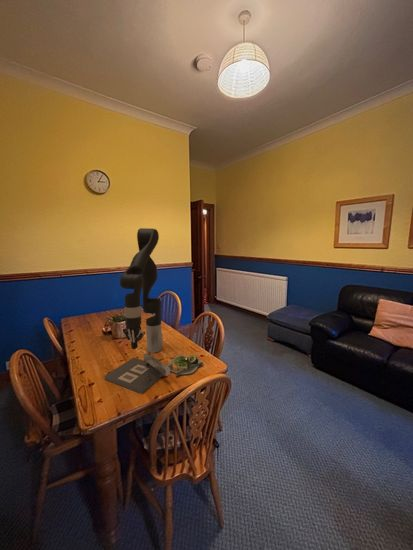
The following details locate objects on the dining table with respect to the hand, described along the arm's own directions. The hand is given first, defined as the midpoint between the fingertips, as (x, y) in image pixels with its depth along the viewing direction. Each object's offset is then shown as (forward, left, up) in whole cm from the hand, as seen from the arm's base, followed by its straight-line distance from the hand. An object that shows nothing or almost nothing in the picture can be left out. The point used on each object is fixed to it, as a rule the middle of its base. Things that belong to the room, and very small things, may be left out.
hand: (134, 348), depth 114 cm
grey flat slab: (-1, 0, -16) cm, 16 cm away
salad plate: (-20, +17, -16) cm, 31 cm away
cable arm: (-7, +8, -11) cm, 15 cm away
